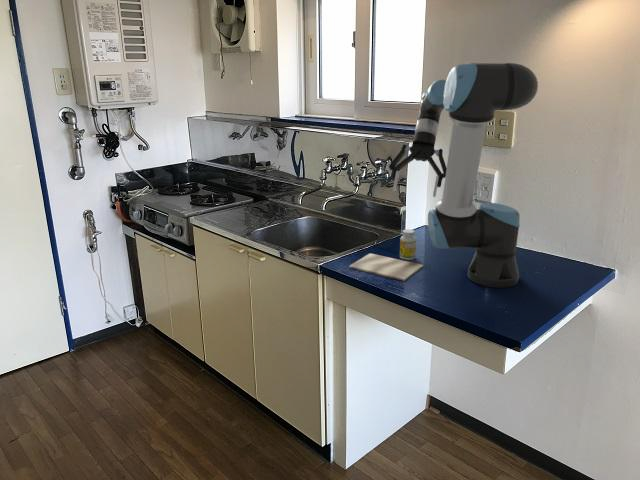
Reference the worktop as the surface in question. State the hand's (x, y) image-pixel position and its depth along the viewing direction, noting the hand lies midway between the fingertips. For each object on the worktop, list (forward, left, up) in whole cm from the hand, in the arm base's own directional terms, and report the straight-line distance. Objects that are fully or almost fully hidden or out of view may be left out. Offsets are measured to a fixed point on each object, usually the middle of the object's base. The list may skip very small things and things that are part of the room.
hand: (414, 192), depth 176 cm
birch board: (+1, +16, -22) cm, 27 cm away
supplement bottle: (-1, +4, -22) cm, 23 cm away
